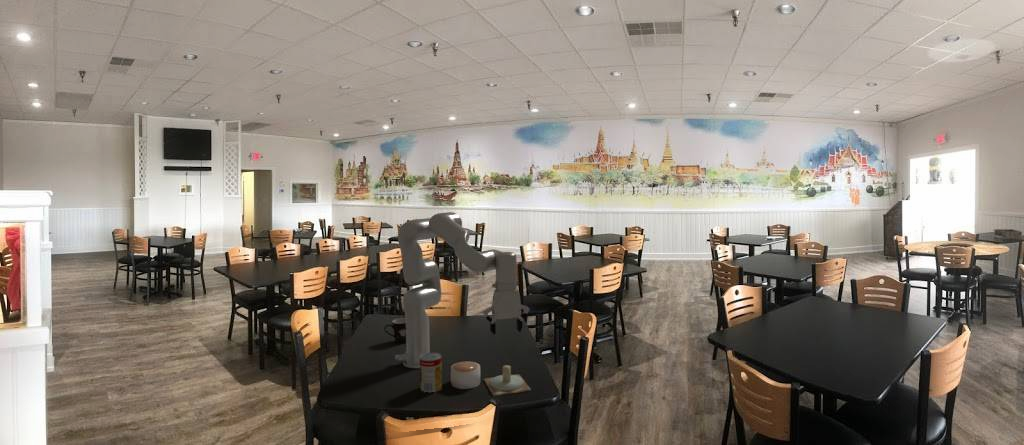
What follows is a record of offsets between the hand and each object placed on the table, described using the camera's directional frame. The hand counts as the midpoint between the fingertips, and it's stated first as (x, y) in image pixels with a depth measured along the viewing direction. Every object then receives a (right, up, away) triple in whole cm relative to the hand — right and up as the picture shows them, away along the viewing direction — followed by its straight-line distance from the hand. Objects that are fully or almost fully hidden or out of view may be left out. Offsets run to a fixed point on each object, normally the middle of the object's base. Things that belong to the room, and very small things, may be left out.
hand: (506, 332), depth 174 cm
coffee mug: (-51, -16, +51) cm, 74 cm away
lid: (0, -20, +2) cm, 20 cm away
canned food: (-27, -21, 0) cm, 34 cm away
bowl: (-15, -20, +4) cm, 25 cm away
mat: (0, -20, +2) cm, 20 cm away
